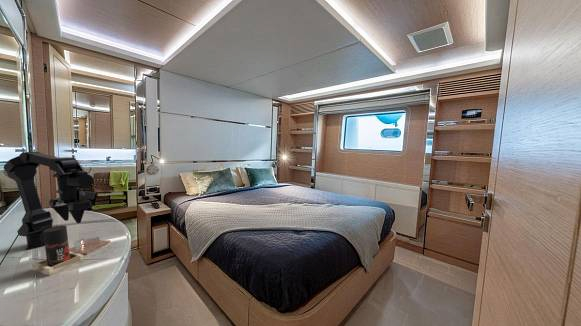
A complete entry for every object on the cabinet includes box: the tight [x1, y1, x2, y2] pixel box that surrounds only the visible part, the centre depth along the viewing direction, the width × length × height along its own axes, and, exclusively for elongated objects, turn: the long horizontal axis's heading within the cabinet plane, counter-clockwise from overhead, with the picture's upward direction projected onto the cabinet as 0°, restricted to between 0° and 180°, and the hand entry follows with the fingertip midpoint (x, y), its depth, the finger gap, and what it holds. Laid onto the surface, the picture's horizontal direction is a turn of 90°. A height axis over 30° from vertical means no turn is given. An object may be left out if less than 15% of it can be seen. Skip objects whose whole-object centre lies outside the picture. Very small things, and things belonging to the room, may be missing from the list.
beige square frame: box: [31, 251, 85, 277], centre depth 82 cm, size 10×10×2 cm
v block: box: [69, 235, 111, 255], centre depth 95 cm, size 10×11×3 cm
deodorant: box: [43, 224, 70, 267], centre depth 81 cm, size 6×6×15 cm
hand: (72, 221), depth 92 cm, fingers open, 9 cm apart
